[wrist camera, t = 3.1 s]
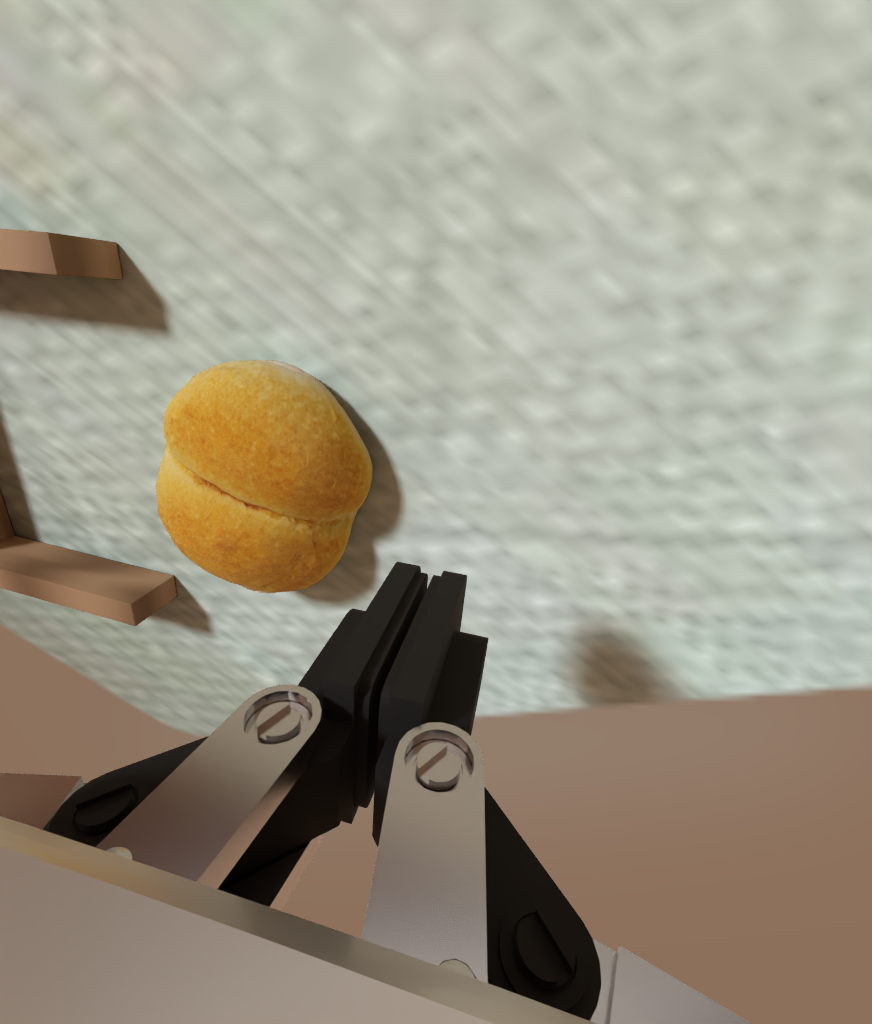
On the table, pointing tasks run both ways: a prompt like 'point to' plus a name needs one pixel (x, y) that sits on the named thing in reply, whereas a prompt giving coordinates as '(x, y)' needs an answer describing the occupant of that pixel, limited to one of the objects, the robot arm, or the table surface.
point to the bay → (3, 554)
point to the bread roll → (261, 475)
